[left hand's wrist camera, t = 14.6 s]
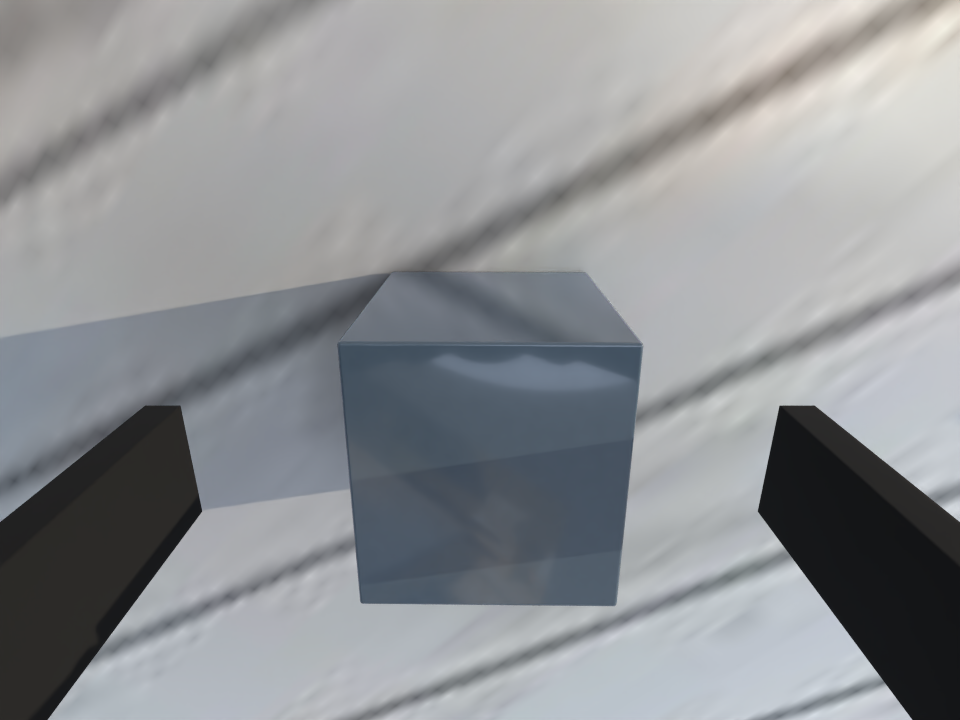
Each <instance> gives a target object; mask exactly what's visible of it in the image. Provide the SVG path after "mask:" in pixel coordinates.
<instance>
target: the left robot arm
mask: <svg viewBox="0 0 960 720" xmlns="http://www.w3.org/2000/svg"><path fill="white" fill-rule="evenodd" d="M201 512H202V508H201V503H200V499H199V494H198V489H197V484H196V479H195V474H194V470H193V465H192V460H191V455H190V450H189V445H188V440H187V436H186V431H185V426H184V421H183V416H182V411H181V407H180V406H144V407H143V408H142V409H141V410H139V411H138V412H137V413H136V414H134V415H133V416H132V417H131V418H129V419H128V420H127V421H126V422H124V423H123V424H122V425H121V426H119V427H118V428H117V429H116V430H114V431H113V432H112V433H111V434H109V435H108V436H107V437H106V438H104V439H103V440H102V441H101V442H100V443H98V444H97V445H96V446H95V447H93V448H92V449H91V450H90V451H88V452H87V453H86V454H85V455H83V456H82V457H81V458H80V459H78V460H77V461H76V462H75V463H73V464H72V465H71V466H70V467H68V468H67V469H66V470H65V471H63V472H62V473H61V474H60V475H58V476H57V477H56V478H55V479H53V480H52V481H51V482H50V483H48V484H47V485H46V486H45V487H43V488H42V489H41V490H40V491H38V492H37V493H36V494H35V495H33V496H32V497H31V498H30V499H29V500H27V501H26V502H25V503H24V504H22V505H21V506H20V507H19V508H17V509H16V510H15V511H14V512H12V513H11V514H10V515H9V516H7V517H6V518H5V519H4V520H2V521H1V522H0V720H48V718H49V717H50V716H51V714H52V713H53V712H54V710H55V709H56V708H57V706H58V705H59V704H60V702H61V701H62V700H63V698H64V697H65V696H66V694H67V693H68V691H69V690H70V689H71V687H72V686H73V685H74V683H75V682H76V681H77V679H78V678H79V677H80V675H81V674H82V673H83V671H84V670H85V669H86V667H87V666H88V665H89V663H90V662H91V660H92V659H93V658H94V656H95V655H96V654H97V652H98V651H99V650H100V648H101V647H102V646H103V644H104V643H105V642H106V640H107V639H108V638H109V636H110V635H111V634H112V632H113V631H114V629H115V628H116V627H117V625H118V624H119V623H120V621H121V620H122V619H123V617H124V616H125V615H126V613H127V612H128V611H129V609H130V608H131V607H132V605H133V604H134V603H135V601H136V600H137V599H138V597H139V596H140V594H141V593H142V592H143V590H144V589H145V588H146V586H147V585H148V584H149V582H150V581H151V580H152V578H153V577H154V576H155V574H156V573H157V572H158V570H159V569H160V568H161V566H162V565H163V563H164V562H165V561H166V559H167V558H168V557H169V555H170V554H171V553H172V551H173V550H174V549H175V547H176V546H177V545H178V543H179V542H180V541H181V539H182V538H183V537H184V535H185V534H186V532H187V531H188V530H189V528H190V527H191V526H192V524H193V523H194V522H195V520H196V519H197V518H198V516H199V515H200V514H201ZM758 512H759V514H760V515H761V516H762V518H763V519H764V520H765V522H766V523H767V524H768V526H769V527H770V528H771V530H772V531H773V532H774V534H775V535H776V537H777V538H778V539H779V541H780V542H781V543H782V545H783V546H784V547H785V549H786V550H787V551H788V553H789V554H790V555H791V557H792V558H793V559H794V561H795V562H796V563H797V565H798V566H799V568H800V569H801V570H802V572H803V573H804V574H805V576H806V577H807V578H808V580H809V581H810V582H811V584H812V585H813V586H814V588H815V589H816V590H817V592H818V593H819V594H820V596H821V597H822V599H823V600H824V601H825V603H826V604H827V605H828V607H829V608H830V609H831V611H832V612H833V613H834V615H835V616H836V617H837V619H838V620H839V621H840V623H841V624H842V625H843V627H844V628H845V629H846V631H847V632H848V634H849V635H850V636H851V638H852V639H853V640H854V642H855V643H856V644H857V646H858V647H859V648H860V650H861V651H862V652H863V654H864V655H865V656H866V658H867V659H868V660H869V662H870V663H871V665H872V666H873V667H874V669H875V670H876V671H877V673H878V674H879V675H880V677H881V678H882V679H883V681H884V682H885V683H886V685H887V686H888V687H889V689H890V690H891V691H892V693H893V694H894V696H895V697H896V698H897V700H898V701H899V702H900V704H901V705H902V706H903V708H904V709H905V710H906V712H907V713H908V714H909V716H910V717H911V718H912V720H960V522H959V521H958V520H956V519H955V518H954V517H953V516H951V515H950V514H949V513H948V512H946V511H945V510H944V509H943V508H941V507H940V506H939V505H938V504H936V503H935V502H934V501H933V500H931V499H930V498H929V497H928V496H927V495H925V494H924V493H923V492H922V491H920V490H919V489H918V488H917V487H915V486H914V485H913V484H912V483H910V482H909V481H908V480H907V479H905V478H904V477H903V476H902V475H900V474H899V473H898V472H897V471H895V470H894V469H893V468H892V467H890V466H889V465H888V464H887V463H885V462H884V461H883V460H882V459H880V458H879V457H878V456H877V455H875V454H874V453H873V452H872V451H870V450H869V449H868V448H867V447H865V446H864V445H863V444H862V443H860V442H859V441H858V440H857V439H856V438H854V437H853V436H852V435H851V434H849V433H848V432H847V431H846V430H844V429H843V428H842V427H841V426H839V425H838V424H837V423H836V422H834V421H833V420H832V419H831V418H829V417H828V416H827V415H826V414H824V413H823V412H822V411H821V410H819V409H818V408H817V407H816V406H780V407H779V411H778V416H777V421H776V426H775V431H774V436H773V440H772V445H771V450H770V455H769V460H768V465H767V470H766V474H765V479H764V484H763V489H762V494H761V499H760V503H759V508H758Z"/></svg>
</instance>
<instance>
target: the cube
mask: <svg viewBox="0 0 960 720" xmlns="http://www.w3.org/2000/svg"><path fill="white" fill-rule="evenodd" d="M337 345H338V356H339V368H340V379H341V390H342V401H343V413H344V424H345V435H346V447H347V458H348V469H349V480H350V492H351V503H352V514H353V525H354V537H355V548H356V559H357V570H358V582H359V593H360V601H361V603H363V604H452V605H552V606H616V603H617V594H618V585H619V575H620V565H621V556H622V546H623V537H624V527H625V517H626V508H627V498H628V488H629V479H630V469H631V460H632V450H633V440H634V431H635V421H636V411H637V402H638V392H639V383H640V373H641V363H642V354H643V344H642V342H641V341H640V340H639V339H638V337H637V336H636V335H635V334H634V332H633V331H632V330H631V328H630V327H629V326H628V325H627V323H626V322H625V321H624V320H623V318H622V317H621V316H620V315H619V313H618V312H617V311H616V310H615V308H614V307H613V306H612V304H611V303H610V302H609V301H608V299H607V298H606V297H605V296H604V294H603V293H602V292H601V291H600V289H599V288H598V287H597V286H596V284H595V283H594V282H593V280H592V279H591V278H590V277H589V275H588V274H587V273H585V272H392V273H391V274H390V276H389V277H388V278H387V279H386V281H385V282H384V283H383V285H382V286H381V287H380V289H379V290H378V291H377V292H376V294H375V295H374V296H373V298H372V299H371V300H370V302H369V303H368V304H367V305H366V307H365V308H364V309H363V311H362V312H361V313H360V315H359V316H358V317H357V318H356V320H355V321H354V322H353V324H352V325H351V326H350V328H349V329H348V330H347V331H346V333H345V334H344V335H343V337H342V338H341V339H340V341H339V342H338V344H337Z"/></svg>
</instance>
